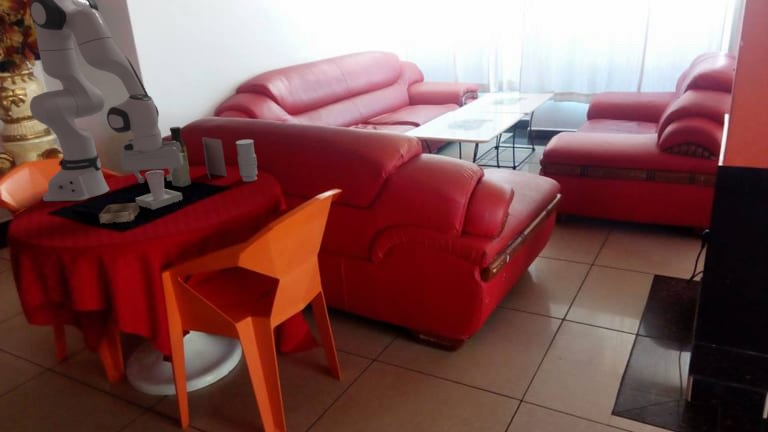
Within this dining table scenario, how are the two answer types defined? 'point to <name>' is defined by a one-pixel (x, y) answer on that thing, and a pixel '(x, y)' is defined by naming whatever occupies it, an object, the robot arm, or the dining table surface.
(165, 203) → the tray
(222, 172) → the greeting card
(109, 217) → the frame
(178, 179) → the skincare box
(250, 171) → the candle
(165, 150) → the robot arm
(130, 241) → the dining table surface
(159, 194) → the smoothie
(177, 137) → the sauce bottle
